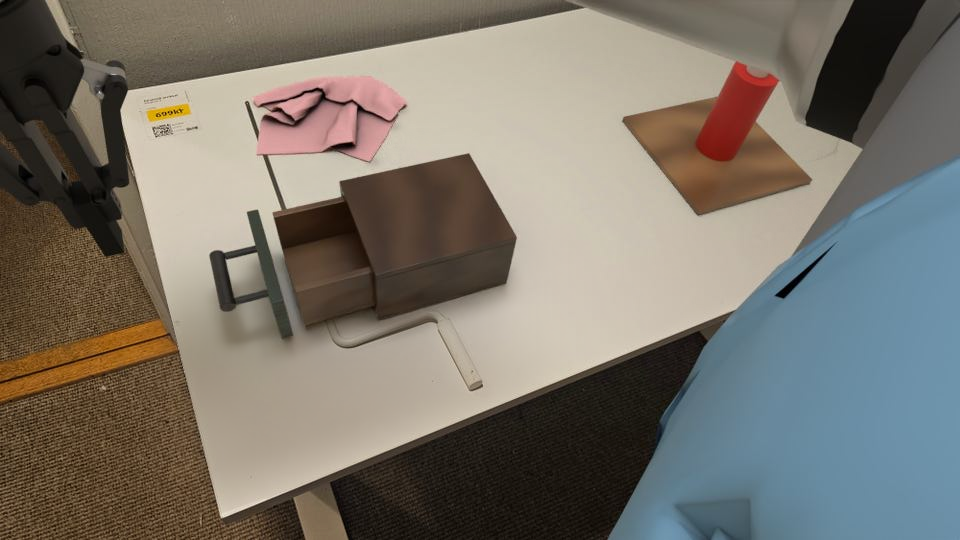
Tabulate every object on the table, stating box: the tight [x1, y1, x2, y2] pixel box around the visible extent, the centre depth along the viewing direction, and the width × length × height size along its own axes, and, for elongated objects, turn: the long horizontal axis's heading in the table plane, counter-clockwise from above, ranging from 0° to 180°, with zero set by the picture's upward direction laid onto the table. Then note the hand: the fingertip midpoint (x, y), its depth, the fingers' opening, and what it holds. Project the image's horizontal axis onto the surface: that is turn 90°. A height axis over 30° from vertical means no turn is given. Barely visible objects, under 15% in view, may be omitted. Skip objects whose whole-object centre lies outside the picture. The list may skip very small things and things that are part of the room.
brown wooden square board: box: [622, 96, 813, 216], centre depth 90 cm, size 20×20×1 cm
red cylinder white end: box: [696, 61, 780, 161], centre depth 83 cm, size 6×6×15 cm
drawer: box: [208, 196, 376, 340], centre depth 66 cm, size 19×12×7 cm, turn 113°
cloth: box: [252, 75, 408, 163], centre depth 85 cm, size 20×22×2 cm
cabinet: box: [338, 152, 518, 321], centre depth 70 cm, size 16×14×9 cm
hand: (113, 243), depth 53 cm, fingers closed
